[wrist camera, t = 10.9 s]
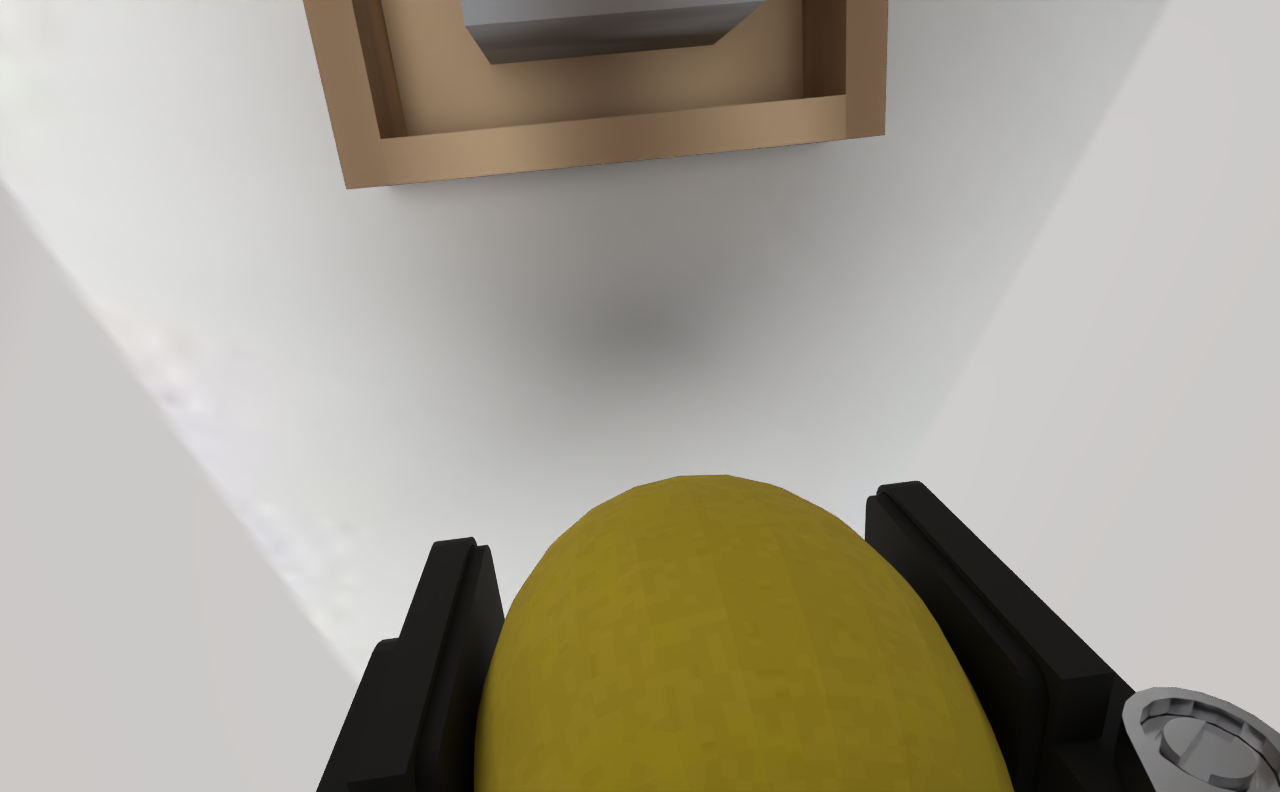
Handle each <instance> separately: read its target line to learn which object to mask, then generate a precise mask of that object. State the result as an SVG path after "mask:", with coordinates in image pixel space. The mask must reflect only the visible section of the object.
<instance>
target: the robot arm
mask: <svg viewBox="0 0 1280 792" xmlns="http://www.w3.org/2000/svg"><path fill="white" fill-rule="evenodd" d="M865 541H866V542H867V543H868V544H869V545H870V546H871V547H872V548H873V549H874V550H876V551H877V552H878V553H879V554H880V555H881V556H882V557H883V558H884V559H885V560H886V561H887V562H889V563H890V564H891V565H892V566H893V567H894V568H895V569H896V571H897V572H898V573H899V574H900V575H901V576H902V577H903V578H904V579H905V580H906V581H907V582H908V583H909V584H910V586H911V587H912V588H913V589H914V591H915V592H916V593H917V594H918V596H919V597H920V598H921V599H922V601H923V602H924V604H925V605H926V607H927V608H928V610H929V611H930V613H931V614H932V616H933V617H934V619H935V620H936V622H937V623H938V625H939V627H940V629H941V630H942V632H943V634H944V636H945V638H946V640H947V641H948V643H949V645H950V647H951V649H952V650H953V652H954V654H955V656H956V658H957V660H958V661H959V663H960V665H961V667H962V669H963V670H964V672H965V674H966V676H967V678H968V680H969V681H970V683H971V685H972V687H973V689H974V691H975V693H976V694H977V696H978V699H979V701H980V703H981V705H982V707H983V709H984V712H985V714H986V716H987V718H988V720H989V723H990V725H991V727H992V730H993V732H994V735H995V737H996V740H997V742H998V745H999V748H1000V750H1001V753H1002V755H1003V758H1004V761H1005V763H1006V766H1007V770H1008V773H1009V776H1010V779H1011V782H1012V786H1013V789H1014V792H1280V734H1279V733H1278V732H1277V731H1275V730H1274V729H1273V728H1271V727H1270V726H1268V725H1267V724H1266V723H1264V722H1263V721H1262V720H1260V719H1259V718H1257V717H1256V716H1254V715H1252V714H1251V713H1249V712H1247V711H1245V710H1243V709H1241V708H1239V707H1237V706H1235V705H1233V704H1231V703H1230V702H1227V701H1224V700H1221V699H1218V698H1216V697H1213V696H1210V695H1207V694H1204V693H1202V692H1197V691H1192V690H1186V689H1181V688H1176V687H1175V688H1174V687H1153V688H1150V689H1146V690H1143V691H1139V692H1135V691H1134V690H1133V689H1132V688H1131V687H1130V686H1129V685H1128V684H1127V683H1126V682H1125V681H1124V680H1123V679H1122V678H1121V677H1120V676H1119V675H1118V674H1117V673H1116V672H1115V671H1114V670H1113V669H1111V667H1110V666H1108V664H1106V663H1105V662H1104V661H1103V660H1102V659H1101V658H1100V657H1099V656H1098V655H1097V654H1096V653H1095V652H1094V651H1093V650H1092V649H1091V648H1090V647H1089V646H1088V645H1087V644H1086V643H1085V642H1084V641H1083V640H1082V639H1081V638H1080V637H1079V636H1078V635H1077V634H1076V633H1075V632H1074V631H1073V630H1072V629H1071V628H1070V627H1069V626H1068V625H1067V624H1066V623H1065V622H1064V621H1062V620H1061V618H1059V616H1057V615H1056V614H1055V613H1054V612H1053V611H1052V610H1051V609H1050V608H1049V607H1048V606H1047V605H1046V604H1045V603H1044V602H1043V601H1042V600H1041V599H1040V598H1039V597H1038V596H1037V595H1036V594H1035V593H1034V592H1033V591H1032V590H1031V589H1030V588H1029V587H1028V586H1027V585H1026V584H1025V583H1024V582H1023V581H1022V580H1021V579H1019V577H1018V576H1017V575H1016V574H1015V573H1014V572H1013V571H1012V570H1010V568H1008V567H1007V566H1006V565H1005V564H1004V563H1003V562H1002V561H1001V560H1000V559H999V558H998V557H997V556H996V555H995V554H994V553H993V552H992V551H991V550H990V549H989V548H988V547H987V546H986V545H985V544H984V543H983V542H982V541H981V540H980V539H979V538H978V537H977V536H976V535H975V534H974V533H973V532H972V531H971V530H970V529H969V528H968V527H967V526H966V525H965V524H964V523H962V521H960V520H959V519H958V518H957V517H956V516H955V515H954V514H953V513H952V512H951V511H950V510H949V509H948V508H947V507H946V506H945V505H944V504H943V503H942V502H941V501H940V500H939V499H938V498H937V497H936V496H935V495H934V494H933V493H932V492H931V491H930V490H929V489H928V488H927V487H926V486H925V485H924V484H923V483H921V482H920V481H910V482H902V483H894V484H886V485H881V486H880V487H879V488H878V490H877V493H876V495H875V496H869V497H868V499H867V502H866V521H865ZM504 621H505V618H504V613H503V609H502V604H501V599H500V594H499V589H498V584H497V579H496V574H495V569H494V564H493V559H492V555H491V551H490V548H489V546H488V545H482V546H477V543H476V541H475V539H474V538H473V537H468V538H460V539H452V540H444V541H437V542H434V544H433V545H432V548H431V550H430V553H429V556H428V559H427V561H426V564H425V567H424V570H423V572H422V575H421V578H420V581H419V583H418V586H417V589H416V592H415V594H414V597H413V600H412V603H411V605H410V608H409V611H408V614H407V616H406V619H405V622H404V625H403V627H402V630H401V633H400V636H399V638H393V639H385V640H382V641H380V642H379V643H378V644H377V645H376V647H375V649H374V651H373V652H372V655H371V657H370V660H369V662H368V665H367V667H366V670H365V672H364V675H363V677H362V680H361V682H360V685H359V687H358V689H357V692H356V694H355V697H354V699H353V702H352V704H351V707H350V709H349V712H348V714H347V717H346V719H345V722H344V724H343V727H342V729H341V731H340V734H339V737H338V739H337V741H336V744H335V746H334V749H333V751H332V754H331V756H330V759H329V761H328V764H327V766H326V769H325V771H324V773H323V776H322V778H321V781H320V783H319V786H318V788H317V791H316V792H474V744H475V733H476V724H477V715H478V709H479V704H480V699H481V694H482V690H483V685H484V682H485V679H486V676H487V673H488V669H489V666H490V663H491V660H492V657H493V654H494V651H495V648H496V645H497V642H498V639H499V636H500V633H501V630H502V627H503V624H504Z"/></svg>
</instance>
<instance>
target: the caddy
mask: <svg viewBox="0 0 1280 792" xmlns="http://www.w3.org/2000/svg"><path fill="white" fill-rule="evenodd" d="M303 3H304V7H305V12H306V16H307V20H308V25H309V29H310V33H311V38H312V42H313V46H314V51H315V55H316V59H317V64H318V68H319V72H320V77H321V81H322V85H323V90H324V94H325V99H326V103H327V107H328V112H329V116H330V120H331V125H332V129H333V133H334V138H335V142H336V146H337V151H338V155H339V159H340V164H341V168H342V172H343V177H344V181H345V185H346V189H356V188H367V187H379V186H391V185H401V184H411V183H421V182H431V181H440V180H450V179H460V178H470V177H480V176H490V175H500V174H510V173H520V172H530V171H540V170H550V169H559V168H569V167H579V166H589V165H599V164H609V163H619V162H629V161H639V160H649V159H659V158H668V157H678V156H688V155H698V154H708V153H718V152H728V151H738V150H748V149H758V148H768V147H778V146H787V145H797V144H807V143H817V142H827V141H836V140H845V139H854V138H863V137H871V136H880V135H885V109H886V68H887V27H888V0H303Z"/></svg>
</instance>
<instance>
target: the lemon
mask: <svg viewBox="0 0 1280 792" xmlns="http://www.w3.org/2000/svg"><path fill="white" fill-rule="evenodd" d="M474 792H1014V789H1013V786H1012V782H1011V779H1010V776H1009V773H1008V770H1007V766H1006V763H1005V761H1004V758H1003V755H1002V753H1001V750H1000V748H999V745H998V742H997V740H996V737H995V735H994V732H993V730H992V727H991V725H990V723H989V720H988V718H987V716H986V714H985V712H984V709H983V707H982V705H981V703H980V701H979V699H978V696H977V694H976V693H975V691H974V689H973V687H972V685H971V683H970V681H969V680H968V678H967V676H966V674H965V672H964V670H963V669H962V667H961V665H960V663H959V661H958V660H957V658H956V656H955V654H954V652H953V650H952V649H951V647H950V645H949V643H948V641H947V640H946V638H945V636H944V634H943V632H942V630H941V629H940V627H939V625H938V623H937V622H936V620H935V619H934V617H933V616H932V614H931V613H930V611H929V610H928V608H927V607H926V605H925V604H924V602H923V601H922V599H921V598H920V597H919V596H918V594H917V593H916V592H915V591H914V589H913V588H912V587H911V586H910V584H909V583H908V582H907V581H906V580H905V579H904V578H903V577H902V576H901V575H900V574H899V573H898V572H897V571H896V569H895V568H894V567H893V566H892V565H891V564H890V563H889V562H887V561H886V560H885V559H884V558H883V557H882V556H881V555H880V554H879V553H878V552H877V551H876V550H874V549H873V548H872V547H871V546H870V545H869V544H868V543H867V542H866V541H865V540H864V539H863V538H861V537H860V536H859V535H858V534H857V533H856V532H855V531H854V530H853V529H851V528H850V527H849V526H848V525H846V524H845V523H844V522H843V521H842V520H840V519H839V518H838V517H836V516H834V515H833V514H831V513H829V512H828V511H826V510H824V509H823V508H821V507H819V506H817V505H815V504H813V503H811V502H809V501H807V500H805V499H803V498H801V497H799V496H797V495H795V494H793V493H791V492H789V491H787V490H785V489H783V488H780V487H777V486H774V485H771V484H767V483H763V482H758V481H753V480H749V479H744V478H739V477H734V476H730V475H698V476H677V477H673V478H669V479H665V480H661V481H657V482H653V483H649V484H645V485H641V486H637V487H634V488H632V489H630V490H628V491H626V492H624V493H622V494H620V495H618V496H616V497H614V498H612V499H610V500H608V501H606V502H604V503H602V504H600V505H598V506H596V507H595V508H593V509H591V510H590V511H589V512H588V513H587V514H586V515H584V516H583V517H582V518H581V519H580V520H579V521H577V522H576V523H575V524H574V525H573V526H572V527H570V528H569V529H568V530H567V531H566V532H565V533H563V534H562V535H561V536H560V537H559V538H558V539H557V540H556V541H555V542H554V543H553V544H552V545H551V546H550V547H549V548H548V550H547V551H546V553H545V554H544V556H543V557H542V558H541V560H540V561H539V563H538V564H537V566H536V567H535V568H534V570H533V571H532V573H531V574H530V576H529V577H528V578H527V580H526V581H525V583H524V584H523V586H522V587H521V589H520V591H519V592H518V594H517V595H516V597H515V599H514V600H513V603H512V605H511V607H510V609H509V612H508V614H507V616H506V618H505V621H504V624H503V627H502V630H501V633H500V636H499V639H498V642H497V645H496V648H495V651H494V654H493V657H492V660H491V663H490V666H489V669H488V673H487V676H486V679H485V682H484V685H483V690H482V694H481V699H480V704H479V709H478V715H477V724H476V733H475V744H474Z"/></svg>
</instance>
